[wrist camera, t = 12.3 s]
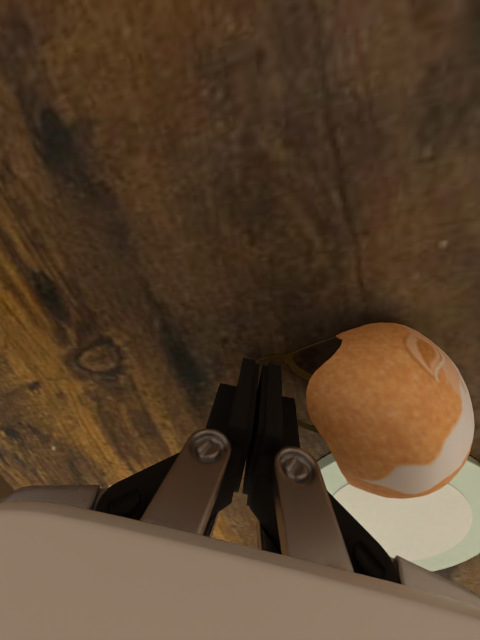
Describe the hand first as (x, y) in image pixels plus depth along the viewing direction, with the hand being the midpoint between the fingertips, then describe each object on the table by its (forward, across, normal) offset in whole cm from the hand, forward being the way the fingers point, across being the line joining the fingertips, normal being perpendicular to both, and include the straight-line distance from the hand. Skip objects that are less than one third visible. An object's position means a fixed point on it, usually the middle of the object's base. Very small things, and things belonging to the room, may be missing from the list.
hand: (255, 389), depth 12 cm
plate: (+2, -10, +9) cm, 14 cm away
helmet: (+3, -4, -1) cm, 5 cm away
